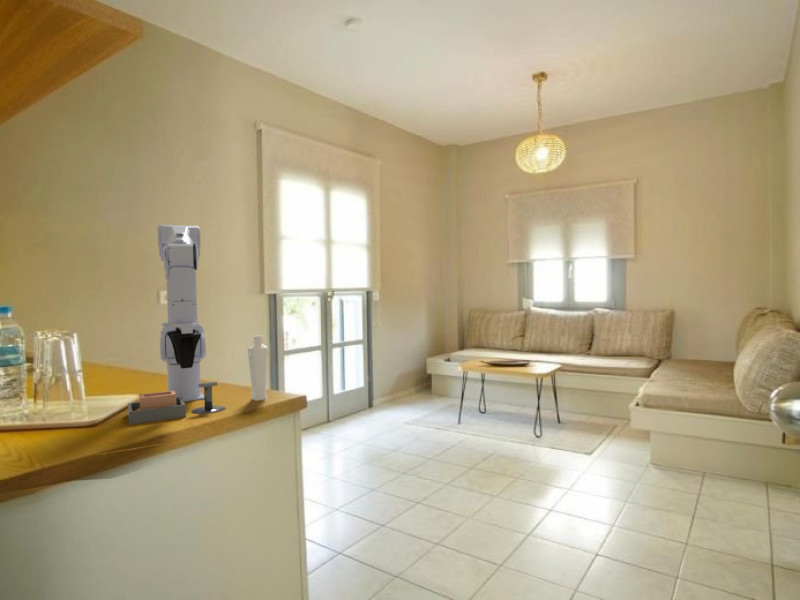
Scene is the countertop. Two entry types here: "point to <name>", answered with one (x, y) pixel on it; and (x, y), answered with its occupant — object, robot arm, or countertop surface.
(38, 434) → the countertop surface
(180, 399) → the tray
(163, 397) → the pink block
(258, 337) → the perfume bottle
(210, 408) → the dark grey stand
